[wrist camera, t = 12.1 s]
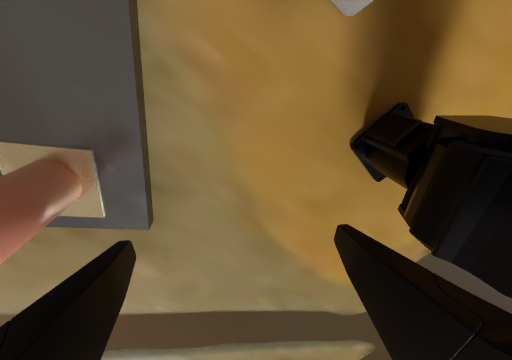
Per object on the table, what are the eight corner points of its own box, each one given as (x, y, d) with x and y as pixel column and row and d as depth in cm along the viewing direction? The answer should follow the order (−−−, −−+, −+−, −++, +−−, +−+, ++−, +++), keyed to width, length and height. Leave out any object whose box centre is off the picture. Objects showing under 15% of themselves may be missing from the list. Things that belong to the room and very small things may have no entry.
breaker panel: (129, -87, 13) (105, -127, 10) (153, 221, 23) (144, 239, 21) (-208, -187, 10) (-358, -278, 7) (-9, 214, 20) (-43, 234, 18)
